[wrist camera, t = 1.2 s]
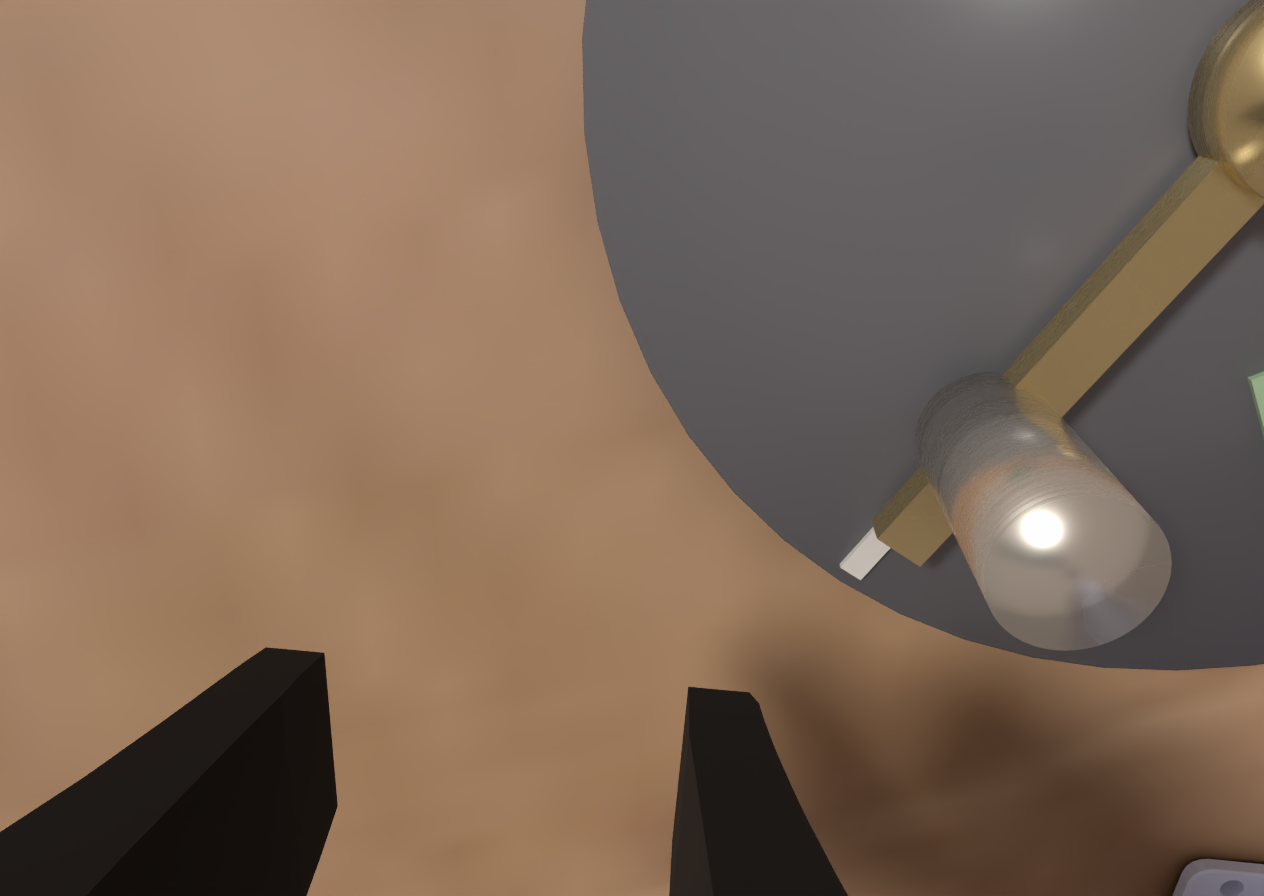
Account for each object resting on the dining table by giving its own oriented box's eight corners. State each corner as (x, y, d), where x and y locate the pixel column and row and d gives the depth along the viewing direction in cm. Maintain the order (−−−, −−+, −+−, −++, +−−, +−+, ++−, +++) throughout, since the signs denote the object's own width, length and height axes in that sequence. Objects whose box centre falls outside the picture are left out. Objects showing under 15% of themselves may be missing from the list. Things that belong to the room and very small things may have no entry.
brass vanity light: (1310, -77, 14) (1590, -121, 9) (1463, 57, 14) (1795, 74, 10) (824, 490, 18) (862, 642, 14) (957, 577, 18) (1035, 750, 14)
